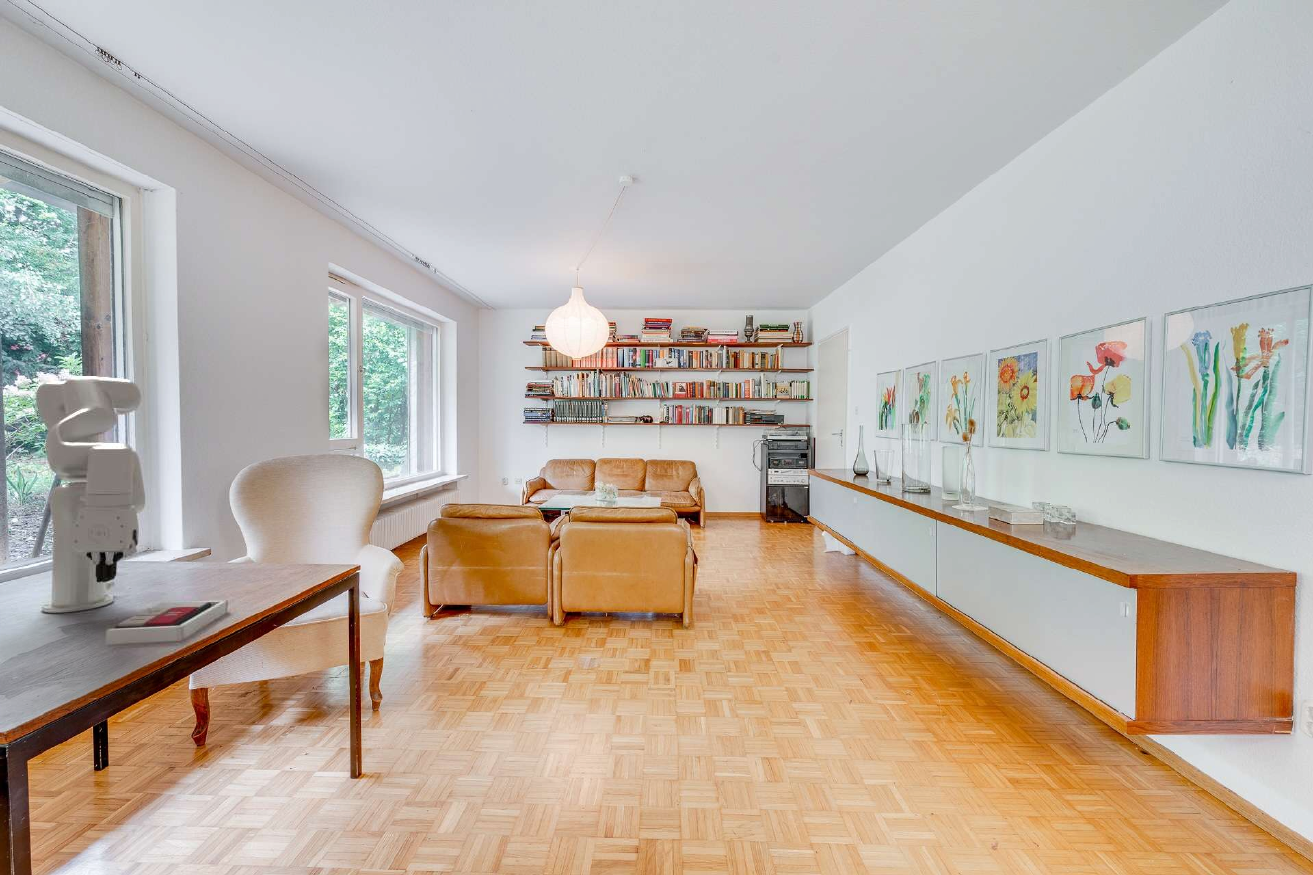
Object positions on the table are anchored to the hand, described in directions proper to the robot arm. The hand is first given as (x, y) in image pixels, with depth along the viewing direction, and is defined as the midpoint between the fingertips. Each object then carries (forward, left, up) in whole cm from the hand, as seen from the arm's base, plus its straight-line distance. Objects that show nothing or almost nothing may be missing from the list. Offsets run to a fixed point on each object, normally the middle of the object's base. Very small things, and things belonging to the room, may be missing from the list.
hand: (105, 580), depth 126 cm
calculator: (0, +12, -12) cm, 17 cm away
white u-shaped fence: (+1, +13, -11) cm, 17 cm away
